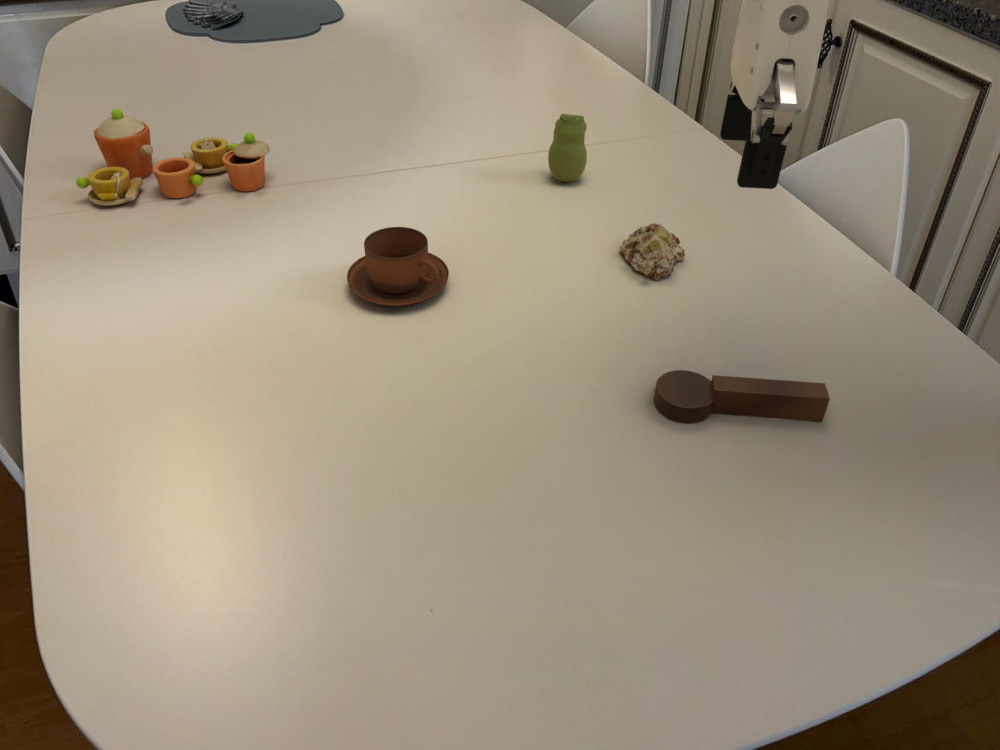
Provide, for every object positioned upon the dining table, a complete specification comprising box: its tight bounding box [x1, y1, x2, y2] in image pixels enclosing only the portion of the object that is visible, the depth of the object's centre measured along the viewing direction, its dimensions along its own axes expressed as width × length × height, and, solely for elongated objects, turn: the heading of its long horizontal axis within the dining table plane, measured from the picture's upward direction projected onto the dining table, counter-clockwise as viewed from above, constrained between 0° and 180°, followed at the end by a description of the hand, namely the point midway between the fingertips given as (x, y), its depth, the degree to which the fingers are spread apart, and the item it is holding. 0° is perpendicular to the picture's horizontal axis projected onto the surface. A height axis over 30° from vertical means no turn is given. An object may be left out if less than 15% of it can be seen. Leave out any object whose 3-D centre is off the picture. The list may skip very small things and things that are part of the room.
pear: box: [547, 113, 588, 183], centre depth 123 cm, size 6×5×10 cm
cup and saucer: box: [346, 226, 450, 307], centre depth 101 cm, size 12×12×6 cm
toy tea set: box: [75, 108, 271, 207], centre depth 121 cm, size 26×16×10 cm, turn 103°
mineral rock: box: [619, 222, 686, 281], centre depth 108 cm, size 11×4×8 cm
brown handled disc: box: [652, 369, 831, 424], centre depth 85 cm, size 16×6×3 cm, turn 84°
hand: (746, 161), depth 75 cm, fingers open, 9 cm apart
